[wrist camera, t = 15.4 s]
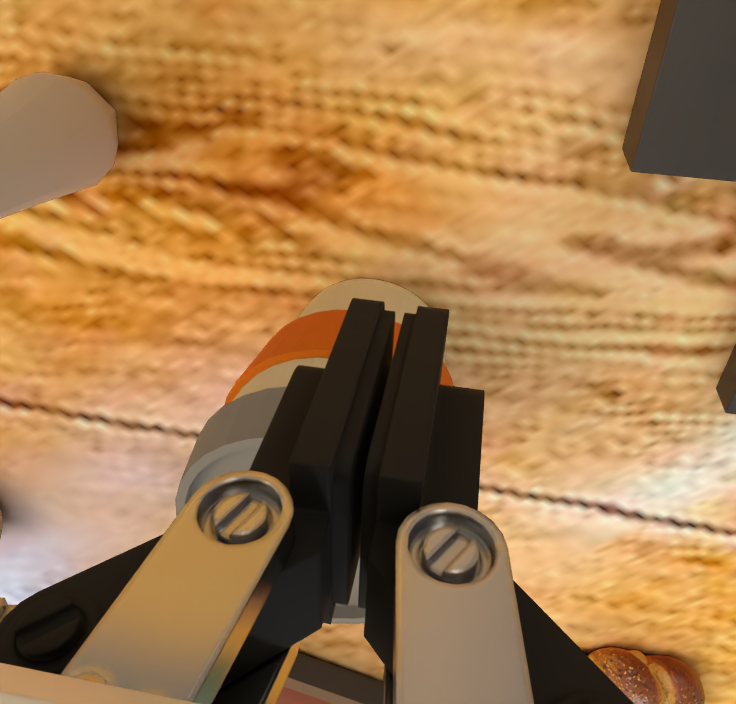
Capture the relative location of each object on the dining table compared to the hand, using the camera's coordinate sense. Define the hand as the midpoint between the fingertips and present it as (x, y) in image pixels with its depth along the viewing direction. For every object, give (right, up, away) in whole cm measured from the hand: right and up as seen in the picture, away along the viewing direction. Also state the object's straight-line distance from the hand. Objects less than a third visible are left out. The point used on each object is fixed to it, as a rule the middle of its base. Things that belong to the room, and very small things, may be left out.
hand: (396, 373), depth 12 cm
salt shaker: (-16, +13, +23) cm, 31 cm away
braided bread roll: (+21, -27, +44) cm, 56 cm away
